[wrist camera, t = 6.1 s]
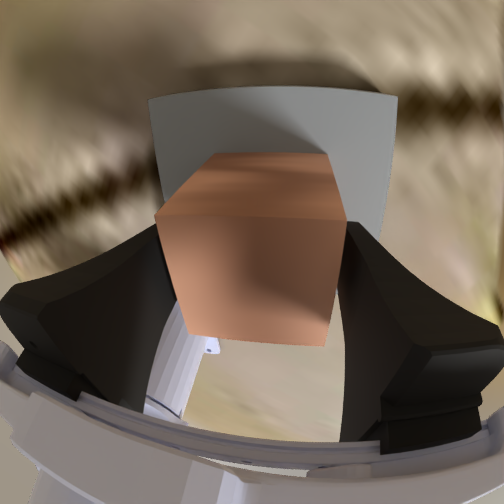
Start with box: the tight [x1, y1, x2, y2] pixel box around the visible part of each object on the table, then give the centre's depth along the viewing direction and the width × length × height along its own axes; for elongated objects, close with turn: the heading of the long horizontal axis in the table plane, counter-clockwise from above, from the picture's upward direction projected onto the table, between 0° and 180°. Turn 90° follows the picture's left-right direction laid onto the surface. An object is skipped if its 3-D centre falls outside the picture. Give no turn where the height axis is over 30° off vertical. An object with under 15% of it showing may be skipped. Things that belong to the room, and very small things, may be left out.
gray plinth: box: [148, 85, 398, 294], centre depth 14 cm, size 11×11×2 cm
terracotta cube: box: [154, 152, 347, 346], centre depth 11 cm, size 5×5×6 cm
